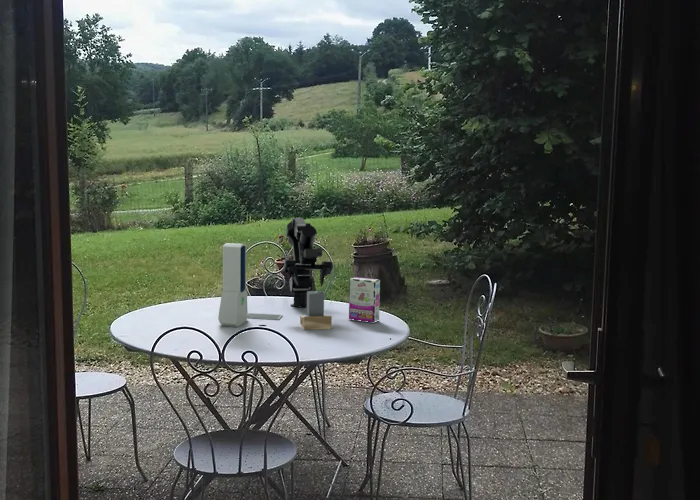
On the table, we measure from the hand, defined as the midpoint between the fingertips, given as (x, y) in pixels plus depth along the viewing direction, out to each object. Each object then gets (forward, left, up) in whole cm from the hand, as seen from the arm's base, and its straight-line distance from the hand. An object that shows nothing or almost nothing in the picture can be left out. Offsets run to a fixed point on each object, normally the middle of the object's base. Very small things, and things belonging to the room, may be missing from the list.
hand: (310, 285), depth 286 cm
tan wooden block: (+8, +6, -13) cm, 17 cm away
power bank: (+7, +6, -13) cm, 16 cm away
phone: (+4, -18, -14) cm, 23 cm away
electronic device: (+18, -23, -14) cm, 32 cm away
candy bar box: (-9, +19, -14) cm, 25 cm away
